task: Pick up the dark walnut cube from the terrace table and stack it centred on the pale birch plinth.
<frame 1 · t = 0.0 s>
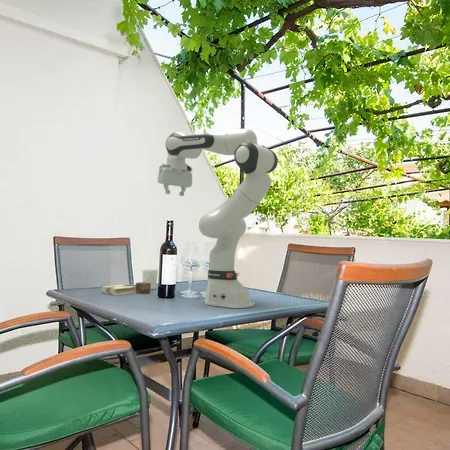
hand: (174, 194, 204), 48 cm above the table, fingers open, 8 cm apart
birch plinth: (118, 293, 202), on the table
walnut cube: (142, 293, 204), on the table
white cup: (149, 289, 219), on the table
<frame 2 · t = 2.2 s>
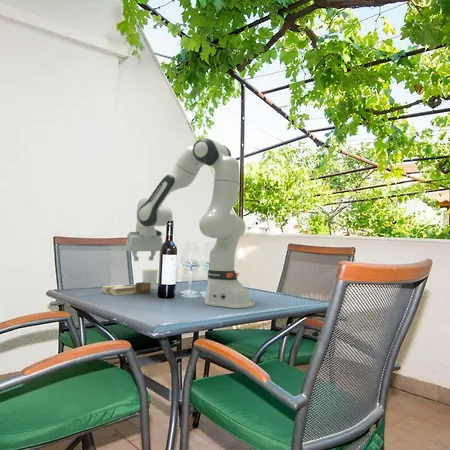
hand: (143, 260, 205), 16 cm above the table, fingers open, 8 cm apart
nothing on the table moved.
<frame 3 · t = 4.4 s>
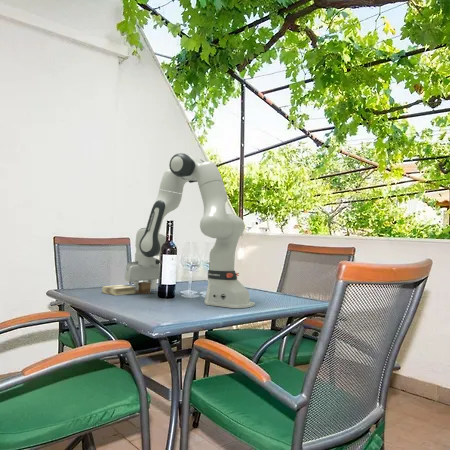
hand: (143, 289, 204), 2 cm above the table, fingers closed on walnut cube, 5 cm apart
walnut cube: (142, 293, 204), on the table, touching gripper
everything else where it was.
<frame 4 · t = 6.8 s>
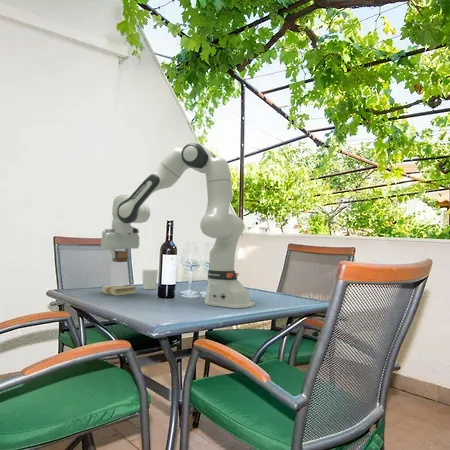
hand: (120, 258, 202), 17 cm above the table, fingers closed on walnut cube, 5 cm apart
walnut cube: (119, 261, 202), point 15 cm above the table, touching gripper
everything else where it was.
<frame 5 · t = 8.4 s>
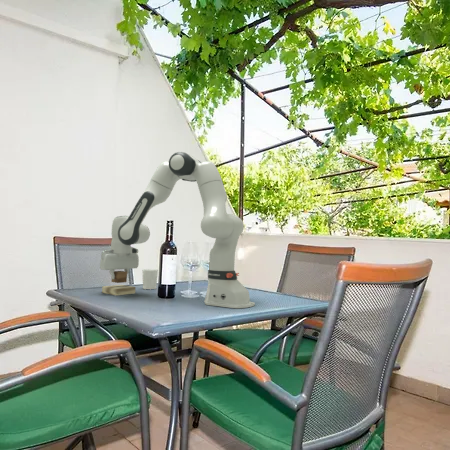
hand: (119, 278, 202), 7 cm above the table, fingers closed on walnut cube, 5 cm apart
walnut cube: (119, 282, 202), point 5 cm above the table, touching gripper
everything else where it was.
when the fingers open (6 cm above the table, at t = 9.4 s): walnut cube drops 1 cm, resting on birch plinth.
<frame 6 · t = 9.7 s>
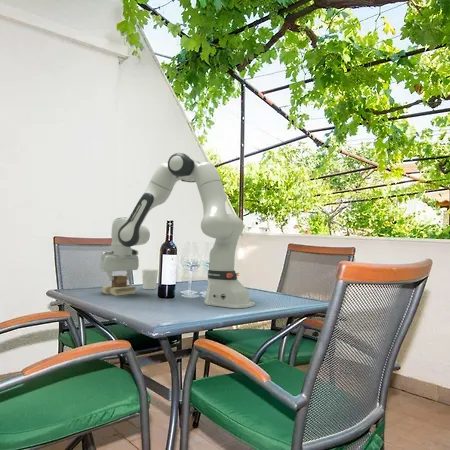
hand: (119, 280, 202), 6 cm above the table, fingers open, 8 cm apart
walnut cube: (119, 286, 202), point 3 cm above the table, touching birch plinth
everything else where it was.
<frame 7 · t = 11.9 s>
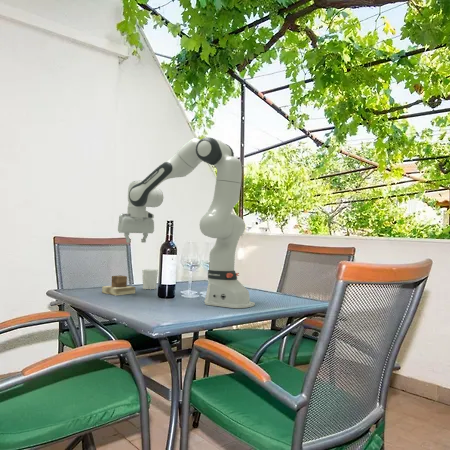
hand: (136, 242, 206), 24 cm above the table, fingers open, 8 cm apart
nothing on the table moved.
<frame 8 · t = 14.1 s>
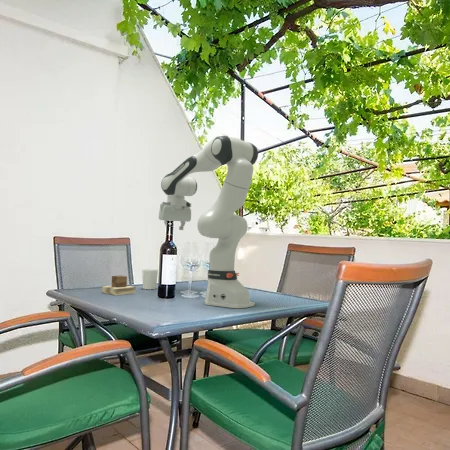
hand: (174, 229, 218), 31 cm above the table, fingers open, 8 cm apart
nothing on the table moved.
at the end: walnut cube inside the target area on the birch plinth (0.0 cm from its centre), point 3.0 cm above the birch plinth's base; walnut cube tilted 0°; the gripper is holding nothing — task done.
